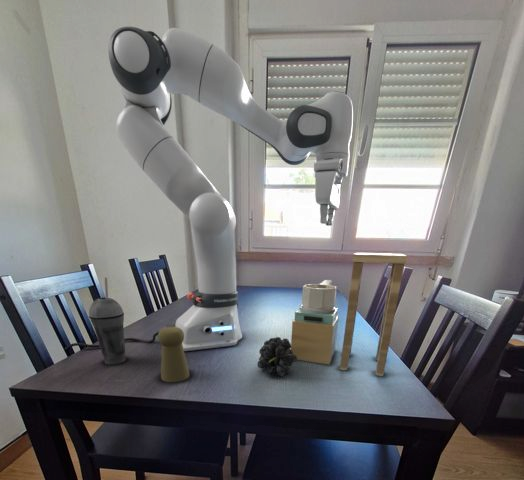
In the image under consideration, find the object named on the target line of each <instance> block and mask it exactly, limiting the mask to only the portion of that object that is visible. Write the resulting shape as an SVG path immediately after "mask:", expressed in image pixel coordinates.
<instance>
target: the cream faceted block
mask: <svg viewBox="0 0 524 480" xmlns="http://www.w3.org/2000/svg"><path fill="white" fill-rule="evenodd" d="M332 284H333V280H332V279H324V280H323V281H322V282H320V283H307V284H304V285H303V286H302V296H301V305H303V307H304V308H307V309H311V310H331V309H334V307H335V305H336V299H337V291H338V286H336V285H332Z"/></svg>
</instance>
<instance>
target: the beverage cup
mask: <svg viewBox="0 0 524 480" xmlns="http://www.w3.org/2000/svg"><path fill="white" fill-rule="evenodd" d="M108 287H109V286H108V277H104V293H105V295H104V296H105V297H99V298H96V299H95V300H94V301H92V303H91V305H90V306H89V309H88V318H89V319H90V323H91V325H92V326H93V329H94V332H95V335H96V339H97V341H98V345H100V347H99V348H100V352H101V355H102V357H103V360H104V363H105V364H106V365H118V364H121V363H124V362H125V361H126V346H125V345H126V344H125V342H126V341H124V339H125V330H124V329H125V327H124V323H125V322H124V321H125V316H124V315H125V312H124V310H123V307H122V305H121V304H120V303H119V302H118V301H117V300H116V299H113V298H111V297H109V288H108Z"/></svg>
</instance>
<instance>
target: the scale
mask: <svg viewBox="0 0 524 480" xmlns="http://www.w3.org/2000/svg"><path fill="white" fill-rule="evenodd" d="M338 310H339V307H335V306H334V309H331V310H311V309H307V308H304V307H303V305H302V304H301V305H300V306H299V308H298V309H297V310H296V311H294V319H293V320H292V323H291V341H290V344H291V348H290V349H291V350H292V352H293V355H296V357H297V360H296V361H303V362H308V363H309V362H311V363H317V364H322V365H329V366H330V364H331V362H332V359H333V357H334V354H335V352H336V343H337V342H336V341H337V336H338V326H339V317H340V316H339V315H338V312H339V311H338Z"/></svg>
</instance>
